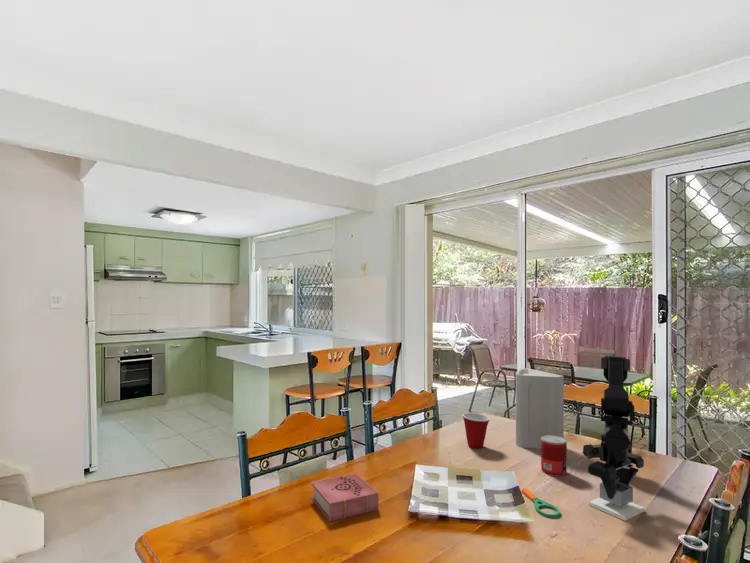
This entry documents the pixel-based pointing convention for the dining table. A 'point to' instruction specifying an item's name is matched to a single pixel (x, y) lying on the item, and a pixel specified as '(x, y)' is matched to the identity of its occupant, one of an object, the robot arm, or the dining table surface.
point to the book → (344, 496)
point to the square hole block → (618, 494)
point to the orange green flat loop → (541, 504)
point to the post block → (617, 508)
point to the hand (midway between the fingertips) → (616, 495)
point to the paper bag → (538, 406)
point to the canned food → (553, 455)
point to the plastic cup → (475, 429)
